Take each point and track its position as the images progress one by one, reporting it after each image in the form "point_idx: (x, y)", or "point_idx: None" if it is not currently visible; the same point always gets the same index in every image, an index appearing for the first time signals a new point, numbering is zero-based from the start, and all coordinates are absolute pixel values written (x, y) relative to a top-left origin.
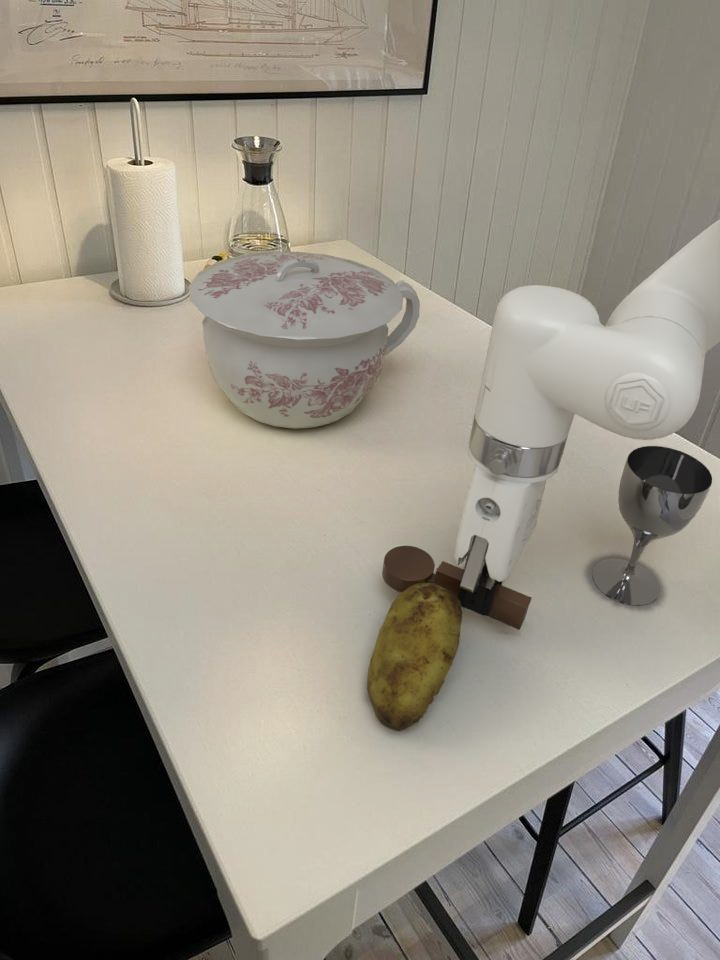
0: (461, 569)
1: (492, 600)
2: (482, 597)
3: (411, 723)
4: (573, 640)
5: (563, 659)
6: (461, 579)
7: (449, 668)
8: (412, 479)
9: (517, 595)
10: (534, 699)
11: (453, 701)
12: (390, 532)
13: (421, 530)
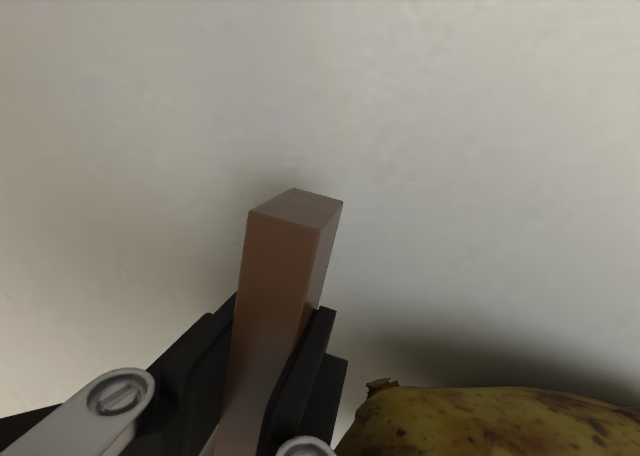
0: (218, 443)
1: (317, 351)
2: (336, 410)
3: None
4: (261, 21)
5: (339, 42)
6: None
7: (627, 436)
8: (7, 384)
9: (262, 269)
10: (509, 112)
11: (551, 310)
12: None
13: (107, 371)
